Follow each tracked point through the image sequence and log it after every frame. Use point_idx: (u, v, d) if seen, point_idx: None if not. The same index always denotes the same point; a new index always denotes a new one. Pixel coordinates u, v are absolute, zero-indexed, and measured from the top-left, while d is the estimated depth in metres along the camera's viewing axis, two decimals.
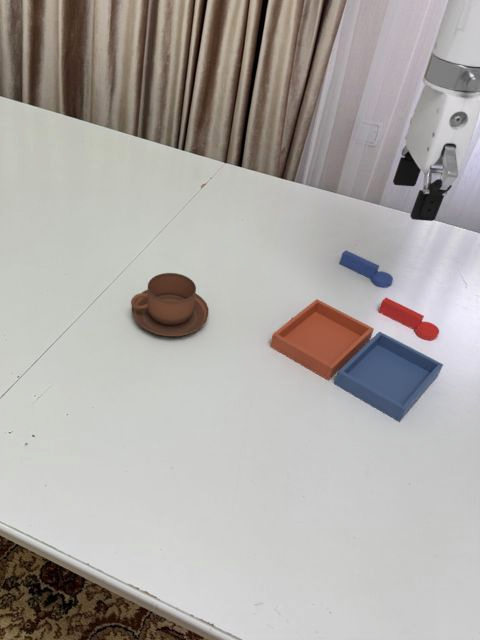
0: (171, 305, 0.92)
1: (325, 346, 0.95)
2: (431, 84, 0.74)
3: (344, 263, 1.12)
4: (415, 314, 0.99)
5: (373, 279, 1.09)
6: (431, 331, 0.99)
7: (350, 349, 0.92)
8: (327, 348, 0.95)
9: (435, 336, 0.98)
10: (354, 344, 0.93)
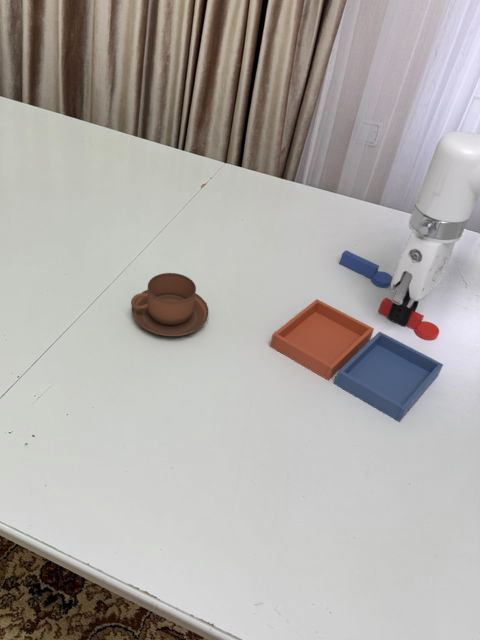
0: (171, 305, 0.92)
1: (325, 346, 0.95)
2: (409, 222, 0.91)
3: (344, 263, 1.12)
4: (415, 314, 0.99)
5: (373, 279, 1.09)
6: (431, 331, 0.99)
7: (350, 349, 0.92)
8: (327, 348, 0.95)
9: (435, 336, 0.98)
10: (354, 344, 0.93)
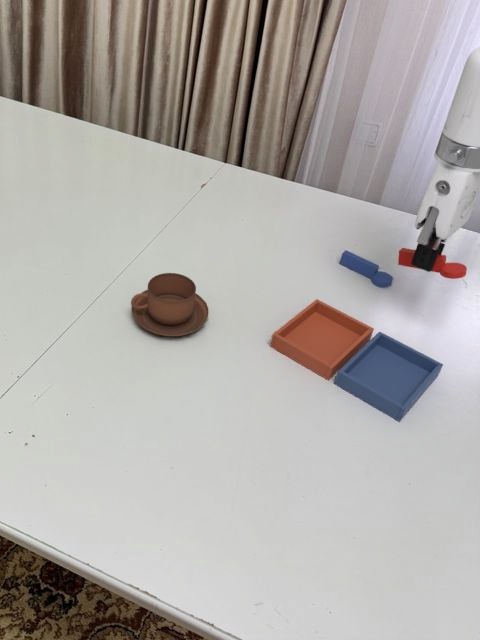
0: (171, 305, 0.92)
1: (325, 346, 0.95)
2: (435, 152, 0.84)
3: (344, 263, 1.12)
4: None
5: (373, 279, 1.09)
6: (457, 269, 0.91)
7: (350, 349, 0.92)
8: (327, 348, 0.95)
9: (463, 273, 0.90)
10: (354, 344, 0.93)
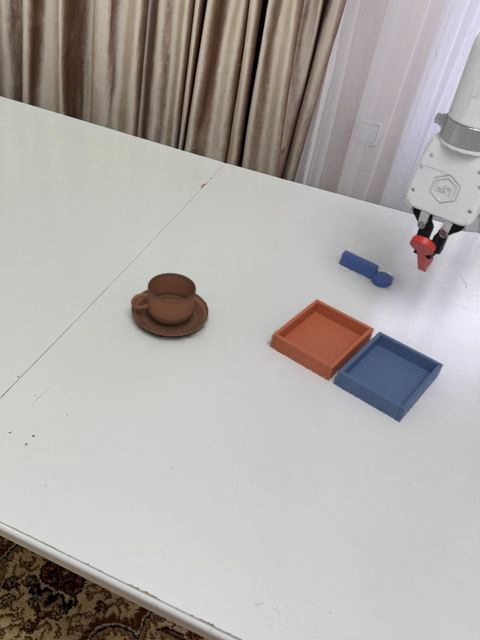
0: (171, 305, 0.92)
1: (325, 346, 0.95)
2: None
3: (344, 263, 1.12)
4: None
5: (373, 279, 1.09)
6: None
7: (350, 349, 0.92)
8: (327, 348, 0.95)
9: (419, 237, 0.88)
10: (354, 344, 0.93)
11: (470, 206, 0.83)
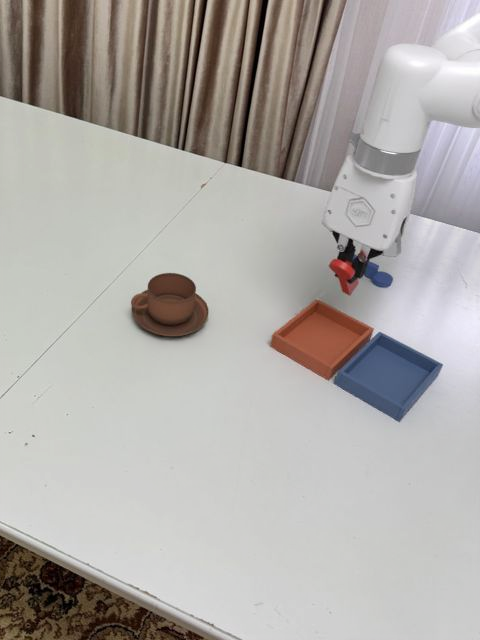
0: (171, 305, 0.92)
1: (325, 346, 0.95)
2: None
3: None
4: None
5: (373, 279, 1.09)
6: None
7: (350, 349, 0.92)
8: (327, 348, 0.95)
9: (337, 261, 0.85)
10: (354, 344, 0.93)
11: (385, 231, 0.79)
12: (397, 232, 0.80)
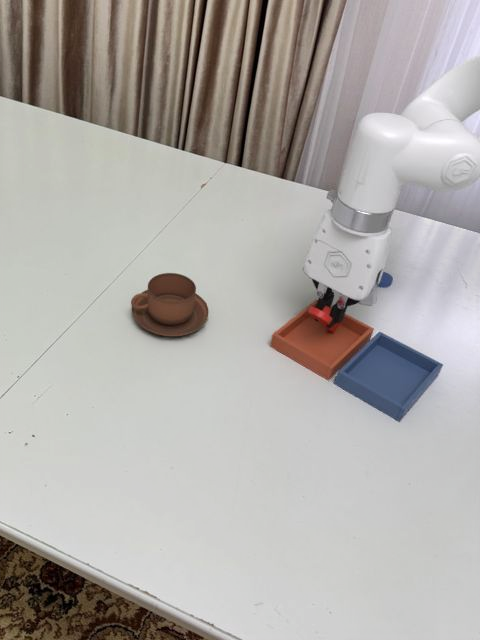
0: (171, 305, 0.92)
1: (325, 346, 0.95)
2: None
3: None
4: None
5: None
6: None
7: (350, 349, 0.92)
8: (327, 348, 0.95)
9: (314, 309, 0.89)
10: (354, 344, 0.93)
11: (361, 282, 0.84)
12: (372, 284, 0.84)
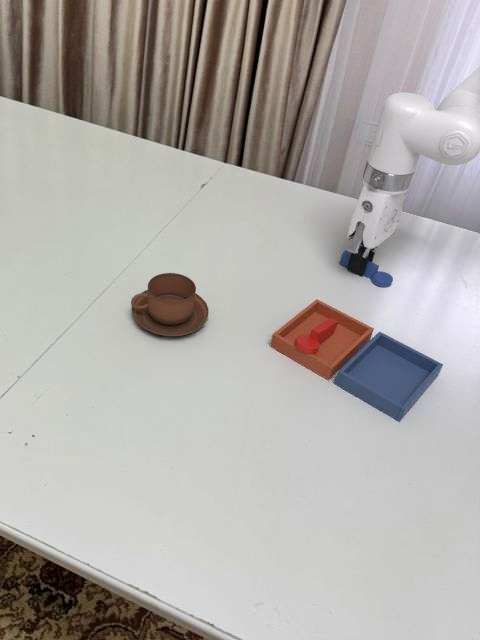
0: (171, 305, 0.92)
1: (325, 346, 0.95)
2: (362, 177, 1.01)
3: (344, 263, 1.12)
4: (318, 328, 0.92)
5: (373, 279, 1.09)
6: (303, 342, 0.91)
7: (350, 349, 0.92)
8: (327, 348, 0.95)
9: (298, 344, 0.90)
10: (354, 344, 0.93)
11: (398, 217, 1.06)
12: None
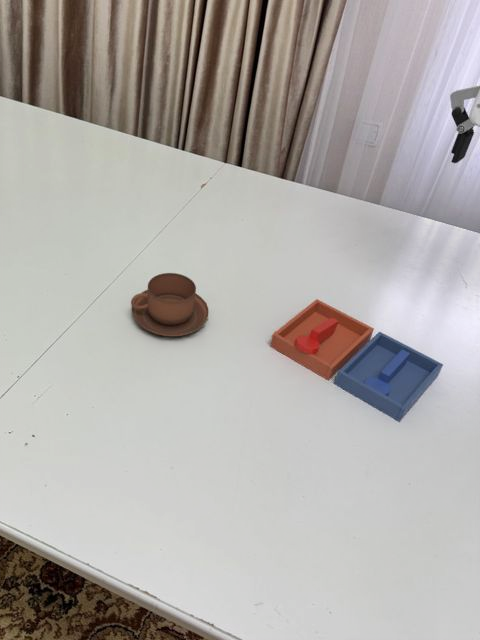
0: (171, 305, 0.92)
1: (325, 346, 0.95)
2: None
3: None
4: (318, 328, 0.92)
5: None
6: (303, 342, 0.91)
7: (350, 349, 0.92)
8: (327, 348, 0.95)
9: (298, 344, 0.90)
10: (354, 344, 0.93)
11: None
12: None
